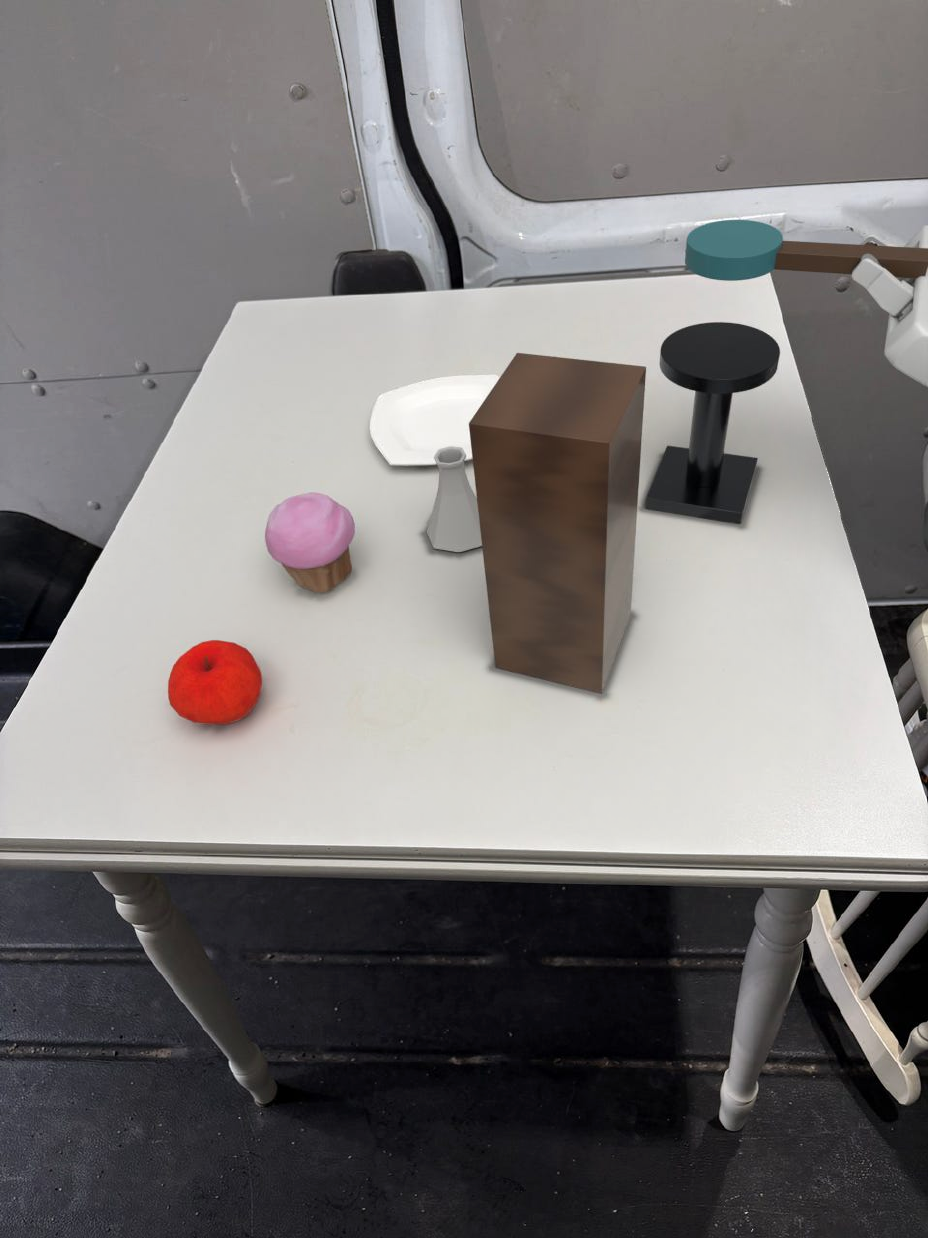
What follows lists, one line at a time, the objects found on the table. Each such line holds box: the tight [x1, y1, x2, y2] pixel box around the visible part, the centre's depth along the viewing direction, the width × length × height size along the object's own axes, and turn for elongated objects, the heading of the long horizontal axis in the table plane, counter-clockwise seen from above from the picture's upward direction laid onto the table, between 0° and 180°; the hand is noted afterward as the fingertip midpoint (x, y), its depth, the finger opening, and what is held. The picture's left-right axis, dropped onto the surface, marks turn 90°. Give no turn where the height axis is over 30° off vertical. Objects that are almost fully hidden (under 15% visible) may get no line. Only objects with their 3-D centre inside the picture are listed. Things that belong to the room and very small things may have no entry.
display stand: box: [644, 321, 781, 525], centre depth 86 cm, size 11×11×16 cm
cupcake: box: [264, 491, 356, 594], centre depth 84 cm, size 9×9×10 cm
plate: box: [369, 374, 501, 467], centre depth 104 cm, size 19×19×2 cm
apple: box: [167, 639, 263, 726], centre depth 73 cm, size 8×8×7 cm
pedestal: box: [469, 352, 647, 694], centre depth 69 cm, size 10×10×26 cm
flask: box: [426, 446, 482, 553], centre depth 87 cm, size 7×7×10 cm
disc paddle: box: [684, 219, 928, 282], centre depth 71 cm, size 20×8×2 cm, turn 68°
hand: (859, 253), depth 69 cm, fingers closed on disc paddle, 2 cm apart
